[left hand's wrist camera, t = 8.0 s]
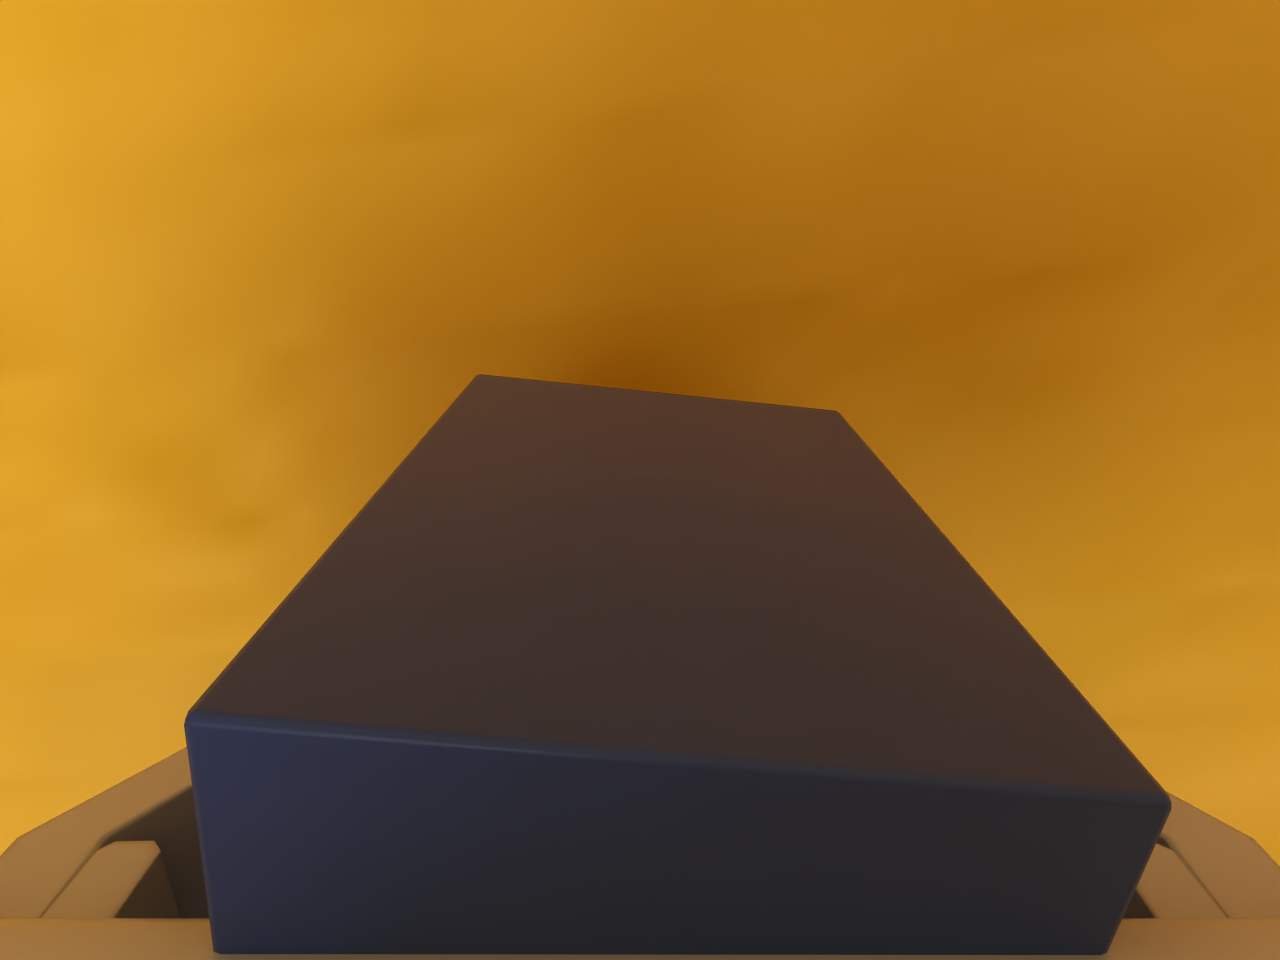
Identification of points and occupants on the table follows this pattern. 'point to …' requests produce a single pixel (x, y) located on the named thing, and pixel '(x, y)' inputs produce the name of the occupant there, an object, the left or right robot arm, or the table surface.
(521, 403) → the bar
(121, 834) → the left robot arm
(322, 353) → the table surface
